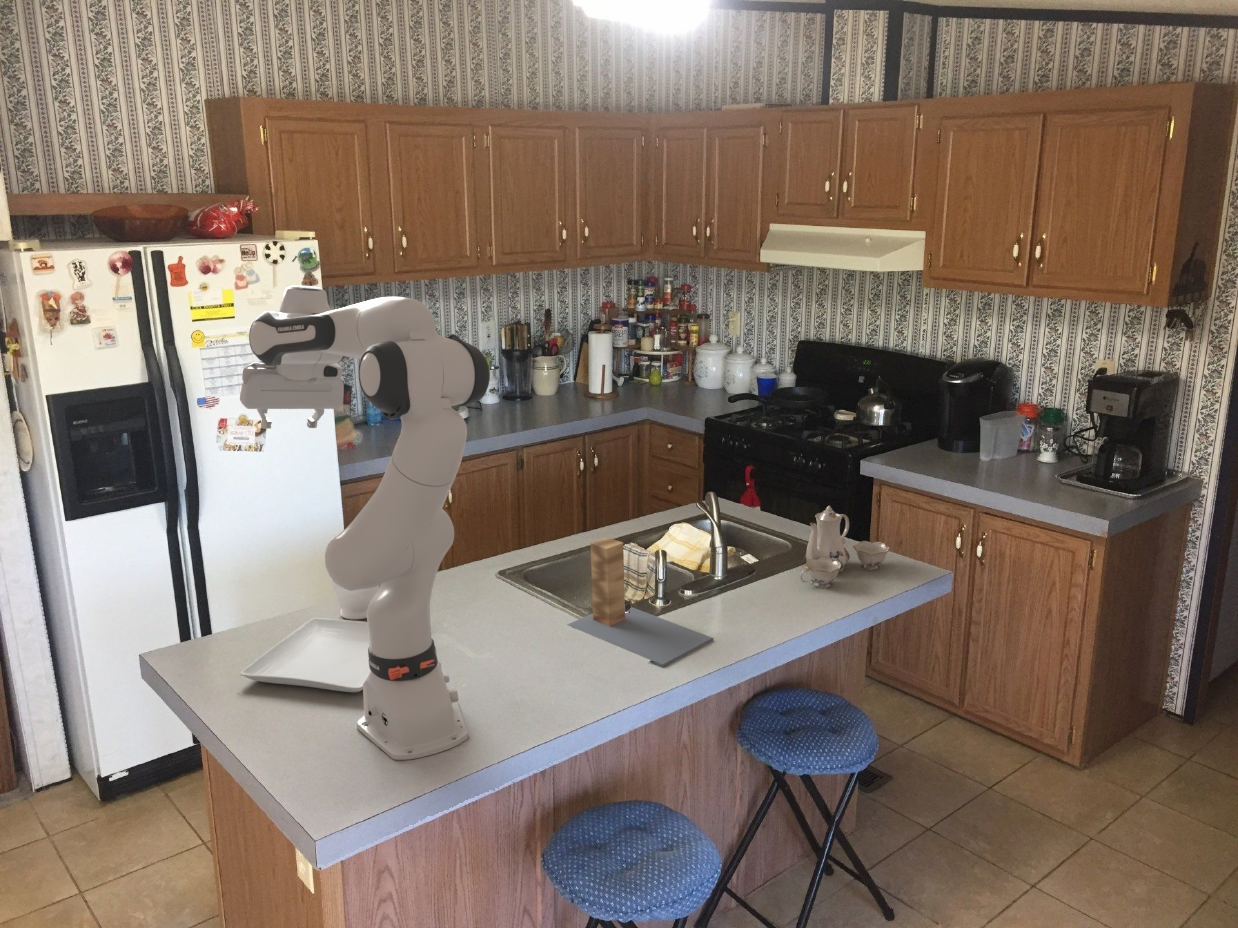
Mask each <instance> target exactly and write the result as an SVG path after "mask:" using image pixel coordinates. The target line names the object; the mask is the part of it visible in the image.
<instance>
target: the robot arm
mask: <svg viewBox="0 0 1238 928" xmlns="http://www.w3.org/2000/svg"><path fill="white" fill-rule="evenodd" d="M281 299H282V300H281V302H280V307H279V312H278V311H270V310H265V311H263V312H262V313H261V314H259V316H257V317H256V318H255V319H254V321H253V322H252V324H251V326H250V328H249V334H248V340H249V346H250V350H251V352H252V353H253V354H254V356H256V358H257V359H258V360H259V361H260V362H256V361H255V362H251V364H248V365H246V366H245V367H244V368H243V370H242V385H241V389H240V395H239V401H240V402H241V404H242V405H243V406H244V407H245V408H246V409H248V410H256V411H257V412H258V414H259V417H260V418H261V421H260V422H261V423H260V424H261V428H262V429H263V430H264V429H265V430H267V429H272V424H273V421H272V419H270V417H266V414H268V410H283V409H284V410H314V411H315V412H314V413H313V415H312V416H311V417H307V419H306V421H307V422H306V425H307V428H308V429H317V427H318V422H319V420H320V419H321V418H322V416H323V415H324V414H325V409H326V410H338V409H340V407H341V406H342V405H343V402H344V394H345V393H344V392H345V390H344V389H345V387H344V386H345V384H344V381H343V379H342V378H341V377H343V374H344V370H343V368H342V367H341V366H340V363H341V362H342V361H344V360H345V358H346V357H347V358H351V359H352V358H353V359H357V360H360V361H359V366H358V382H359V387H360V388H361V392H362V393H363V395H364V396H365V397H366V399H367V400H368V401H369V402H370V404H372V406H374V407H375V408H376V409H378V410H380V411H381V413H382V416H384V417H385V418H386V419H388V420H391V421H396V420H398V419H399V418H400V422H401V430H400V434H399V437H398V439H397V442H396V444H395V446H394V449H393V451H392V453H391V457H390V459H389V462H388V464H387V465H386V469H385V472H384V475H382V479H381V480H380V483H379V485H378V487H377V488H376V490H375V492H374V493H373V494H372V496H371V497H370V498H369V500H368V501H367V502H366V504H365V505H364V506H363V507H362V509H361V510H360V511H359V512H358V514H357V515H356V516H355V517H354V519H353V520H352V521H351V522H349V524H348V525H347V527H346V528H344V529H343V530H342V531H341V532H340V533H339V534H338V535H336V536H335V537H334V538H333V539H332V540H330V542H329V543H328V544H327V546H326V549H325V553H324V565H325V568H326V571H327V574H328V575H329V578H330V579H331V581H332V580H333V581H334V582H335V583H336V584H337V585H338V586H339V587H341V588H342V589H344V590H347V591H356V590H362V589H367V588H372V587H376V586H378V585H379V590H378V591H377V593H376V594H375V595H374V597H373V598H372V600H371V601H370V603H369V605H368V608H367V618H366V620H367V621H366V622H367V624H368V633H369V643H370V646H369V648H368V662H369V668H370V673H369V675H368V677H367V678H366V680H365V681H364V683H363V689H362V692H363V693H362V695H363V714H364V715H363V716H362V717H360V718H359V719H358V720H357V721H356V729H357V730H358V731H359V732H360V733H362V734H363V735H364V736H365V737H366V738H368V739H369V740H370V741H371V742H372V743H374V744H375V745H376V746H377V747H378V748H379V749H381V750H382V751H383V752H384V753H386V755H388V757H390V758H391V759H393V760H395V761H396V760H397V761H399V760H400V761H402V760H412V759H418V758H423V757H428V756H431V755H435V754H437V753H440V752H441V753H442V752H444V751H446V750H449V749H451V748H455V747H457V746H458V745H461V744H462V743H464V742H465V741H467V739H468V738H469V732H468V728H467V726H466V723H465V720H464V717H463V715H462V712H461V709H460V706H459V694H458V689H456V688H455V689H448V685H447V683H450V677H449V674H445V675H444V672H443V669H442V662H441V661H438V656H437V647H436V646H435V640H434V639H433V638H432V626H431V622H432V621H431V599H432V598H431V597H432V593H433V588H434V583H435V581H436V577H437V573H438V571H439V568H440V565H441V563H442V561H443V559H444V557H445V556H446V554H447V553H448V552H449V550H450V549H451V547H452V546H453V543H454V541H455V540H454V539H455V528H454V524H453V521H452V519H451V517H450V515H449V514H448V513H447V512H446V511H445V510H444V509H443V507H444V506H445V502H446V500H447V498H448V495H449V493H450V491H451V489H452V486H453V484H454V482H455V479H456V477H457V474H458V471H459V469H460V467H461V463H462V460H463V456H464V453H465V449H466V445H467V438H468V437H467V436H468V426H467V423H466V421H465V419H464V418H463V416H462V415H461V414H460V413H459V412H458V411H456V410H455V409H454V408H452V407H453V406H457V407H465V406H468V405H471V404H474V403H477V402H478V401H480V400H482V399H483V398H484V396H485V395H486V393H487V390H488V388H489V385H490V381H491V372H490V365H489V363H488V360H487V358H486V357H485V355H484V353H482V351H481V349H479V348H478V347H476V346H474V345H472V344H470V343H468V342H466V341H463V339H461V338H460V337H459V336H458V335H457V334H454V333H451V334H450V335H448V336H442V335H441V334H440V333H438V331H437V328H436V320H435V317H434V314H433V313H432V310H430V308H429V307H428V306H427V305H426V304H425V303H424V302H422V301H420V300H418V299H415V298H410V297H406V296H383V297H377V298H372V299H368V300H366V301H362V302H358V303H355V304H351V305H348V306H345V307H341V308H338V309H337V308H336V309H331V308H332V307H330V305H329V303H328V295H327V292H326V290H324V288H322V287H320V286H319V287H318V286H313V285H312V286H310V285H300V284H294V285H293V284H291V285H290V286H288V287H286V288H285V290H284V291H283V294H282V298H281Z"/></svg>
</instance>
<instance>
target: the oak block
mask: <svg viewBox="0 0 1238 928" xmlns="http://www.w3.org/2000/svg"><path fill="white" fill-rule="evenodd" d="M624 555H625V554H624V542H623V541H619V540H616V539H613V538H611V537H603V538H601V539H598V540H596V541H594V542H591V543H590V565H591V566H590V568H591V570H590V571H591V595H592V597H591V598H592V613H593V620H595V621H597V622H600V623H602V624H605V625H607V626H611V625H613V624H615V623H617V622H620V621H622V620H624V619H625V605H626V604H625V603H626V600H625V598H626V597H625V596H626V595H625V566H624V565H625V562H624V559H625V558H624V557H625V556H624Z"/></svg>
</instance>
